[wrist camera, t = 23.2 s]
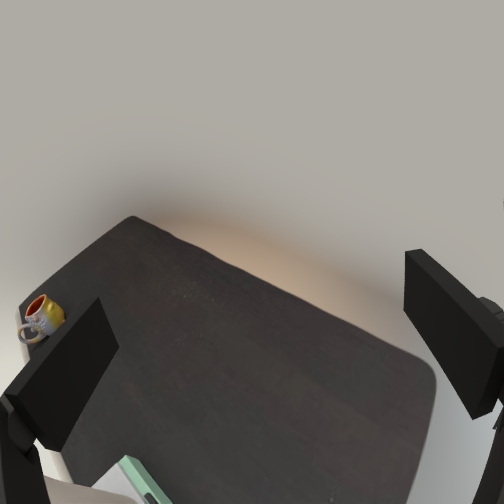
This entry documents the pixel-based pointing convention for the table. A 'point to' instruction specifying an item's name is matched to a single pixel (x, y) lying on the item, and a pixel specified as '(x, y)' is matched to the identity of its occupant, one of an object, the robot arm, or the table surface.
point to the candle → (81, 494)
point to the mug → (42, 319)
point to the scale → (132, 482)
